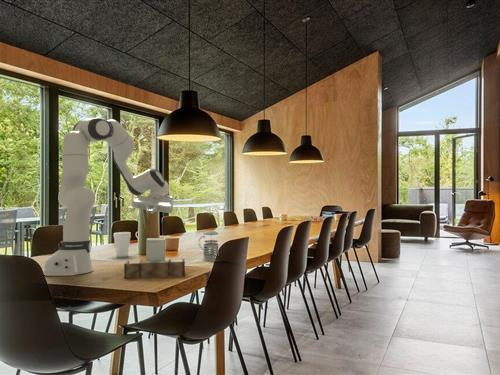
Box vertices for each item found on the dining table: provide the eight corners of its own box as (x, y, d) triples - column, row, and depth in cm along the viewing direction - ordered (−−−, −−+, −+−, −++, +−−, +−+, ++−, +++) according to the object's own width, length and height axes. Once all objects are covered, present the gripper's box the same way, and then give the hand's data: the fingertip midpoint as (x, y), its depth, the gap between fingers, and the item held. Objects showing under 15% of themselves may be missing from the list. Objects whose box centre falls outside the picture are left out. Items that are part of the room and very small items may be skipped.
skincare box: (145, 276, 182) (145, 239, 182) (146, 273, 189) (146, 238, 189) (165, 275, 184) (165, 239, 184) (165, 272, 190) (165, 237, 190)
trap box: (124, 278, 178) (124, 262, 178) (126, 274, 186) (126, 259, 186) (184, 275, 182) (184, 260, 182) (184, 272, 190) (184, 257, 190)
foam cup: (121, 257, 235) (121, 233, 235) (110, 256, 240) (109, 233, 240) (134, 255, 243) (134, 232, 244) (123, 254, 248) (122, 231, 248)
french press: (217, 260, 221) (217, 212, 221) (196, 260, 223) (195, 212, 223) (222, 257, 231) (222, 211, 231) (202, 257, 233) (201, 211, 233)
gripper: (136, 190, 218) (128, 203, 205) (175, 196, 218) (170, 209, 206) (135, 201, 220) (127, 214, 208) (175, 207, 221) (169, 220, 209)
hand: (149, 212), depth 207 cm, fingers closed
